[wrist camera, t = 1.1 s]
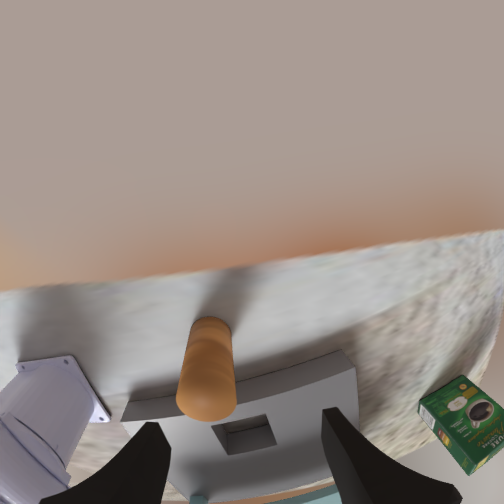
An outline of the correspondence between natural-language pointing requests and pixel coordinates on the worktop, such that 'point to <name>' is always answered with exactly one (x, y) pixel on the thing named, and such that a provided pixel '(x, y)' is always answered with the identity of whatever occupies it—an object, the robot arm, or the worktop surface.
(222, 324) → the peg
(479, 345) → the worktop surface
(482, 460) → the coffee box
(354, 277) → the worktop surface
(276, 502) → the socket stand
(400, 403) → the worktop surface
